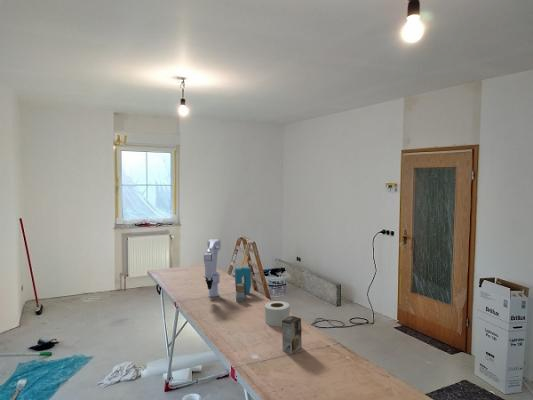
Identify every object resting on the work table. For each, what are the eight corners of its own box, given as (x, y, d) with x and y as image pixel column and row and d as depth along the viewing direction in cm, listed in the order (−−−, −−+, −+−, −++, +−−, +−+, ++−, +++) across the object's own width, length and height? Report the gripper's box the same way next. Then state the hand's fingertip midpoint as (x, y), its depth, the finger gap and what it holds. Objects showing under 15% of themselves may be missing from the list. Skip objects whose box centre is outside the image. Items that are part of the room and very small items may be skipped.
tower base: (235, 299, 289) (235, 295, 289) (243, 299, 290) (243, 294, 290) (236, 302, 283) (236, 297, 283) (244, 301, 284) (244, 296, 284)
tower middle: (236, 295, 289) (236, 290, 289) (244, 294, 290) (244, 290, 290) (236, 297, 283) (236, 292, 283) (244, 297, 284) (244, 292, 284)
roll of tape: (287, 327, 234) (287, 309, 233) (262, 325, 237) (262, 308, 236) (291, 317, 249) (291, 301, 248) (267, 316, 252) (267, 300, 252)
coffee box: (292, 344, 209) (291, 315, 208) (302, 347, 205) (301, 317, 204) (282, 350, 202) (281, 320, 201) (292, 354, 198) (291, 323, 197)
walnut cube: (235, 291, 287) (235, 284, 287) (241, 290, 289) (241, 283, 289) (238, 292, 283) (238, 286, 282) (244, 291, 285) (244, 285, 285)
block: (249, 291, 309) (248, 266, 308) (251, 293, 304) (251, 268, 303) (235, 293, 304) (234, 268, 303) (237, 295, 300) (236, 269, 298)
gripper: (203, 267, 291) (203, 285, 292) (203, 272, 277) (204, 290, 277) (212, 267, 292) (213, 284, 293) (213, 271, 278) (214, 290, 279)
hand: (209, 287), depth 285 cm, fingers open, 7 cm apart
